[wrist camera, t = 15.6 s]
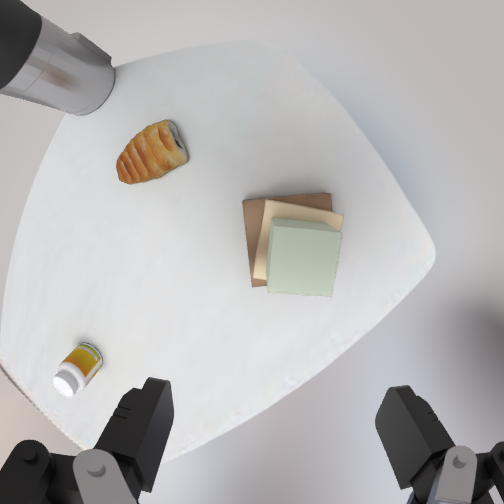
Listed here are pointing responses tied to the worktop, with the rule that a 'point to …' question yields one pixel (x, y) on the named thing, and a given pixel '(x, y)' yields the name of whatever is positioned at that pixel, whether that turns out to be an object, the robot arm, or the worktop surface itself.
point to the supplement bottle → (77, 369)
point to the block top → (287, 212)
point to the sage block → (302, 257)
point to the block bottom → (255, 213)
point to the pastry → (151, 154)
